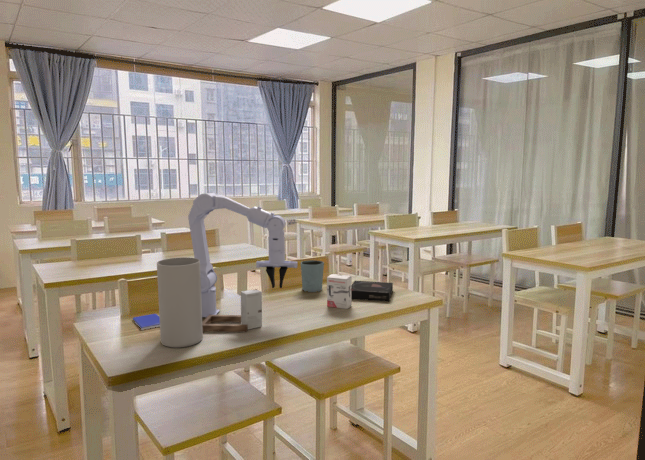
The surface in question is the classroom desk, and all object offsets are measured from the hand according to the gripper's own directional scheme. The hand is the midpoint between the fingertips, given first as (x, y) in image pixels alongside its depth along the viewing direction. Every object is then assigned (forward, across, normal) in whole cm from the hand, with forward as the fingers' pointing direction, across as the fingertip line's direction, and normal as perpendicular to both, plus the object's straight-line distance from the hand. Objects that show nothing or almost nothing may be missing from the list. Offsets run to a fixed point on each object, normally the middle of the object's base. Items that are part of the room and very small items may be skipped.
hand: (277, 287), depth 171 cm
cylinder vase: (+11, -26, -26) cm, 38 cm away
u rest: (+10, -15, -12) cm, 22 cm away
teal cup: (+11, +10, +36) cm, 39 cm away
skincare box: (+11, -7, -12) cm, 17 cm away
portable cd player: (+11, +35, +29) cm, 47 cm away
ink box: (+11, +22, +12) cm, 27 cm away
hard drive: (+11, -43, -10) cm, 46 cm away
